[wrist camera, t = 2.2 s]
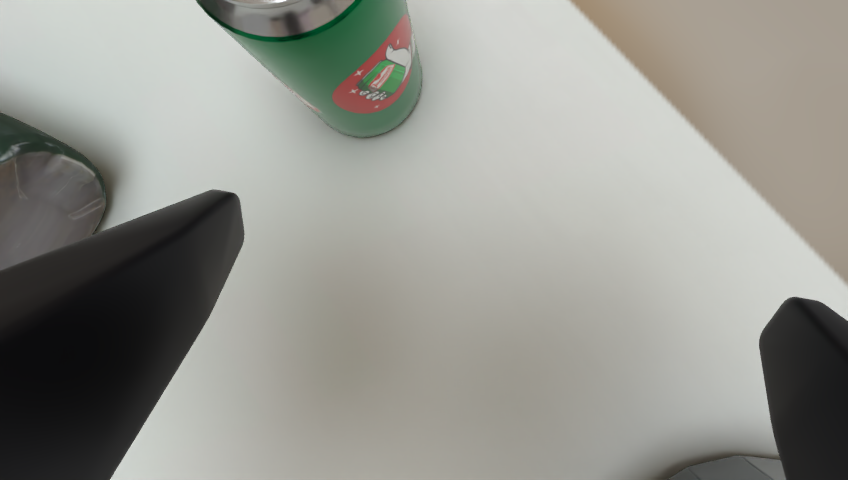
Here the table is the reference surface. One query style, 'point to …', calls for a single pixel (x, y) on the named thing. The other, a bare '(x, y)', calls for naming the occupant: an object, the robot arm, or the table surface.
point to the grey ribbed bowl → (734, 469)
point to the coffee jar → (43, 193)
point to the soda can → (333, 55)
